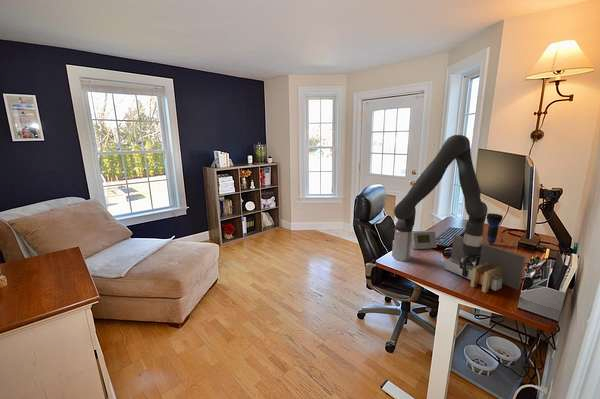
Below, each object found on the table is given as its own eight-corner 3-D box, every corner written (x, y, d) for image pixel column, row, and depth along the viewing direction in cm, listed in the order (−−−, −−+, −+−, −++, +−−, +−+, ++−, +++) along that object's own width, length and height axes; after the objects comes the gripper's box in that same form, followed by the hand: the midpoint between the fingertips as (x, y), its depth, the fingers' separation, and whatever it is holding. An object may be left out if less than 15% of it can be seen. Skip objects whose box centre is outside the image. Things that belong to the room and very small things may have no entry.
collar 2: (481, 291, 118) (484, 272, 116) (496, 284, 124) (499, 265, 122) (485, 292, 117) (488, 273, 115) (499, 285, 123) (502, 267, 120)
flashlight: (488, 241, 175) (493, 212, 170) (500, 245, 167) (505, 215, 163) (479, 243, 172) (484, 213, 168) (491, 247, 165) (496, 217, 160)
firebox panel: (450, 261, 147) (453, 234, 143) (451, 261, 147) (455, 234, 144) (517, 289, 119) (524, 257, 116) (519, 289, 120) (525, 256, 116)
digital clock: (412, 250, 164) (413, 233, 161) (407, 244, 172) (409, 228, 170) (439, 250, 162) (441, 234, 160) (433, 244, 171) (435, 229, 168)
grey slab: (444, 268, 137) (445, 259, 136) (450, 266, 140) (451, 257, 139) (495, 290, 117) (496, 280, 116) (501, 287, 119) (503, 277, 118)
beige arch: (470, 286, 123) (472, 267, 121) (484, 279, 128) (487, 261, 126) (473, 287, 122) (476, 268, 119) (488, 280, 127) (490, 262, 125)
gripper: (473, 237, 132) (468, 268, 136) (455, 243, 126) (451, 275, 129) (489, 242, 126) (484, 274, 129) (471, 248, 119) (466, 282, 123)
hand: (467, 274), depth 129 cm, fingers closed on grey slab, 5 cm apart
